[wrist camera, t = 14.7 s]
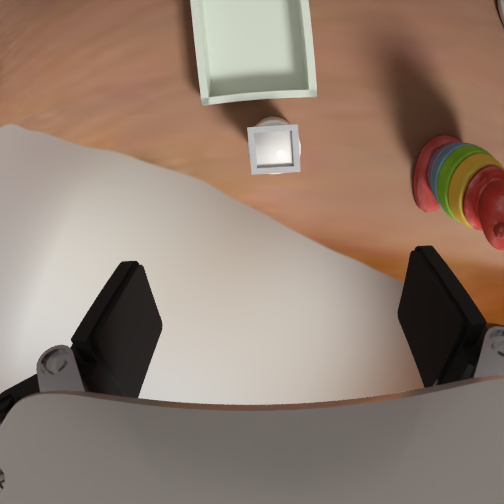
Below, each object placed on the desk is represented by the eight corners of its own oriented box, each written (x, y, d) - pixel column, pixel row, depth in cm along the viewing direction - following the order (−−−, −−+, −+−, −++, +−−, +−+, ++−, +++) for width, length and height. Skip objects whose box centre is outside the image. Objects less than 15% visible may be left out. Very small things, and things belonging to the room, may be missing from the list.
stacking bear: (416, 213, 38) (482, 293, 23) (402, 144, 34) (484, 196, 18) (476, 192, 36) (552, 257, 20) (467, 126, 31) (560, 167, 16)
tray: (293, -64, 21) (296, -76, 18) (312, 95, 32) (317, 96, 29) (192, -54, 22) (185, -64, 19) (208, 103, 33) (202, 105, 30)
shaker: (294, 115, 33) (299, 122, 27) (296, 157, 36) (302, 173, 30) (249, 118, 34) (244, 125, 28) (253, 160, 36) (249, 176, 30)
